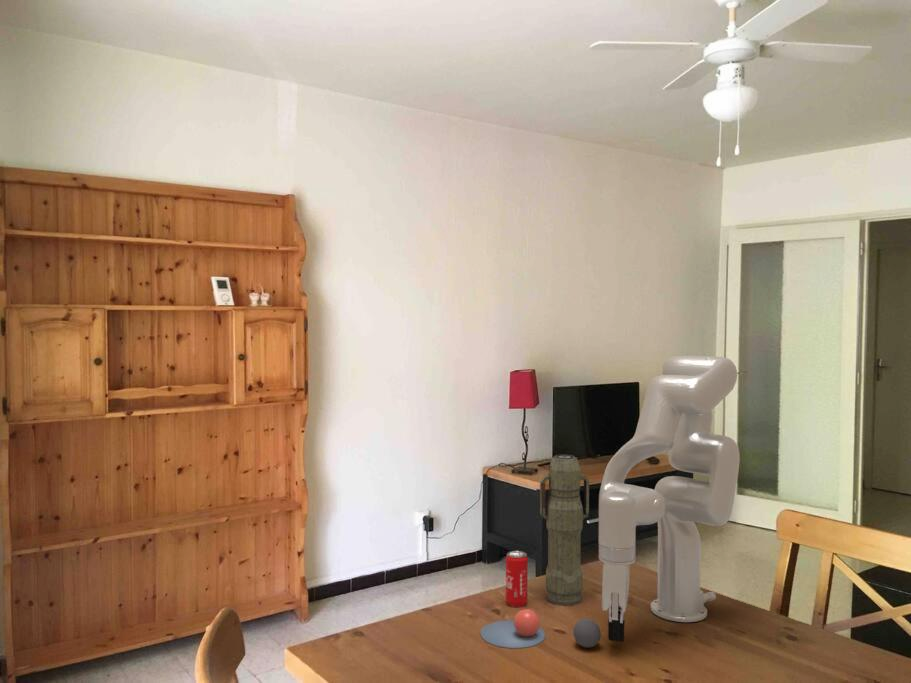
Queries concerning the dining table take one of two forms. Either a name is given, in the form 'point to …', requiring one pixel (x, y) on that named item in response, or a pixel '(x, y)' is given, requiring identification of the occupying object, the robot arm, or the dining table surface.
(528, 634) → the red ball
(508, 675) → the dining table surface
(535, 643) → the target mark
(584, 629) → the gray ball
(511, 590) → the beverage can
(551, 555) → the thermos
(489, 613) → the dining table surface
